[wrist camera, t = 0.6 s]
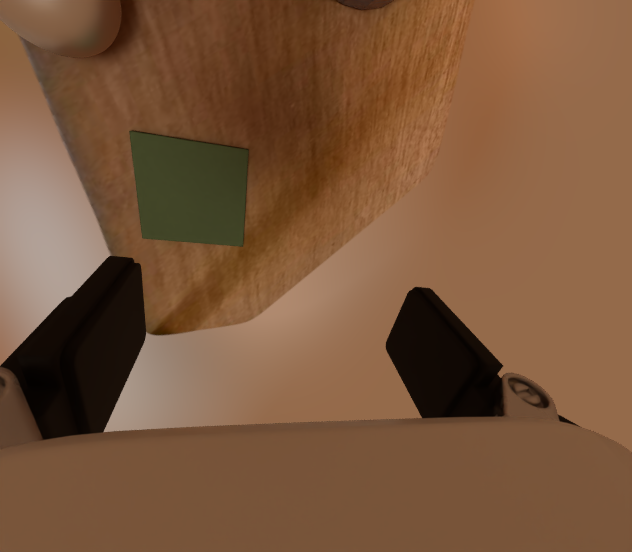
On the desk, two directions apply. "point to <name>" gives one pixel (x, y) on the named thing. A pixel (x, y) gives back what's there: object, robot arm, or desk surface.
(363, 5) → the bowl
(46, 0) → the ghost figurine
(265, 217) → the desk surface
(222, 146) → the mat
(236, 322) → the desk surface
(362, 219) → the desk surface
